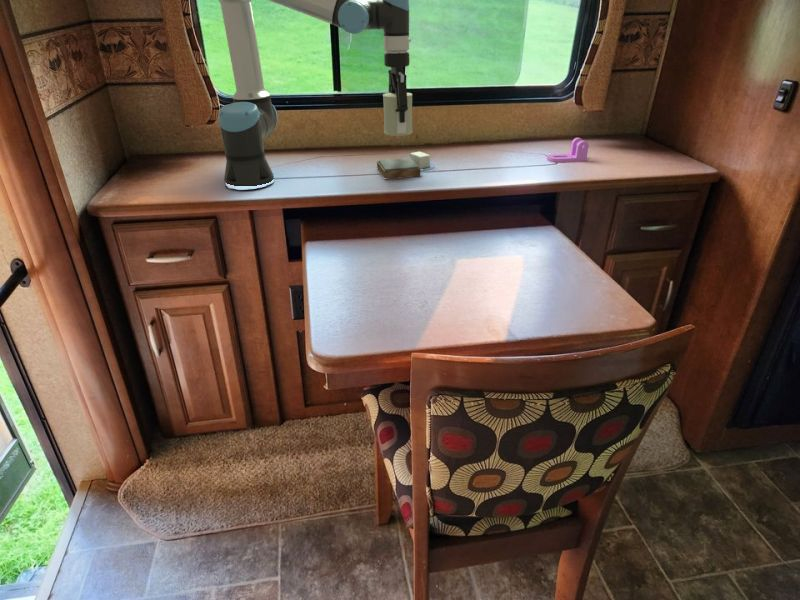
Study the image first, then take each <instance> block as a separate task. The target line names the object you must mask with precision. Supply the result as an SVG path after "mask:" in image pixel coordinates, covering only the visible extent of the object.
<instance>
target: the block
mask: <svg viewBox="0 0 800 600" xmlns="http://www.w3.org/2000/svg"><path fill="white" fill-rule="evenodd" d="M409 154H410V155H409V158H411V159H412V160H413V161H414V162H415V163H416V164H417V165H418V166H419V168H420V169H425V168H430V166H431V165H430V163H431V162H430V161H431V160H430V159H431V155H430V154H428V153H425V152H423V151H414V152H410V153H409Z"/></svg>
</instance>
